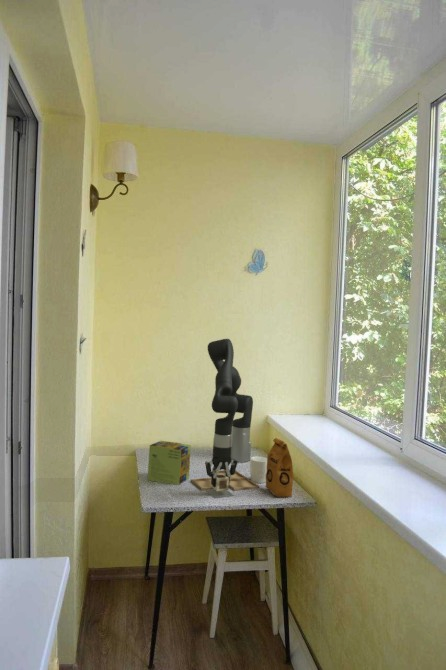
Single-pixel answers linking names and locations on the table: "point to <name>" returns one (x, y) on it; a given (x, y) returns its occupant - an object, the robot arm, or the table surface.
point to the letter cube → (221, 483)
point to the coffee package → (279, 470)
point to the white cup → (258, 469)
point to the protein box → (169, 462)
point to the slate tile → (219, 493)
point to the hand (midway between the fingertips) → (220, 485)
